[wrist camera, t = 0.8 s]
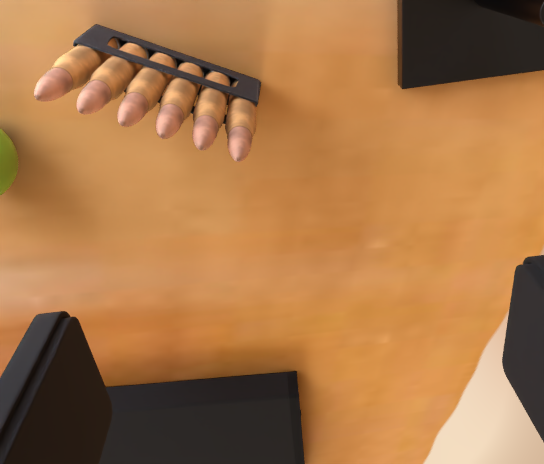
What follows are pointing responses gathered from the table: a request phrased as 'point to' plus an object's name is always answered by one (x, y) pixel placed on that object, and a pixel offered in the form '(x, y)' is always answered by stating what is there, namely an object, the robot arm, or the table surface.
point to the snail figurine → (7, 162)
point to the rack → (468, 40)
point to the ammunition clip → (156, 87)
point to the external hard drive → (207, 422)
